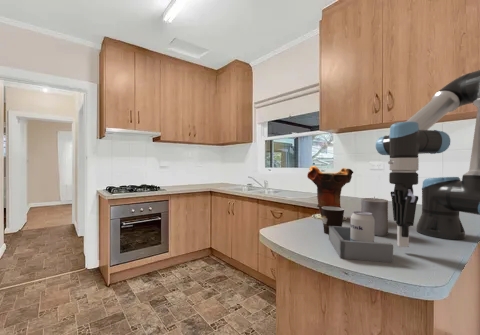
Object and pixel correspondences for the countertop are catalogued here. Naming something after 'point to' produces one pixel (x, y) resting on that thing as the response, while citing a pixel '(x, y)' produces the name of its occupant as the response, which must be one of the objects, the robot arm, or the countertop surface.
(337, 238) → the box
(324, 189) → the decorative vase
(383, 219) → the pillar candle
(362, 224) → the beverage can
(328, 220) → the coffee mug
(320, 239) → the countertop surface
